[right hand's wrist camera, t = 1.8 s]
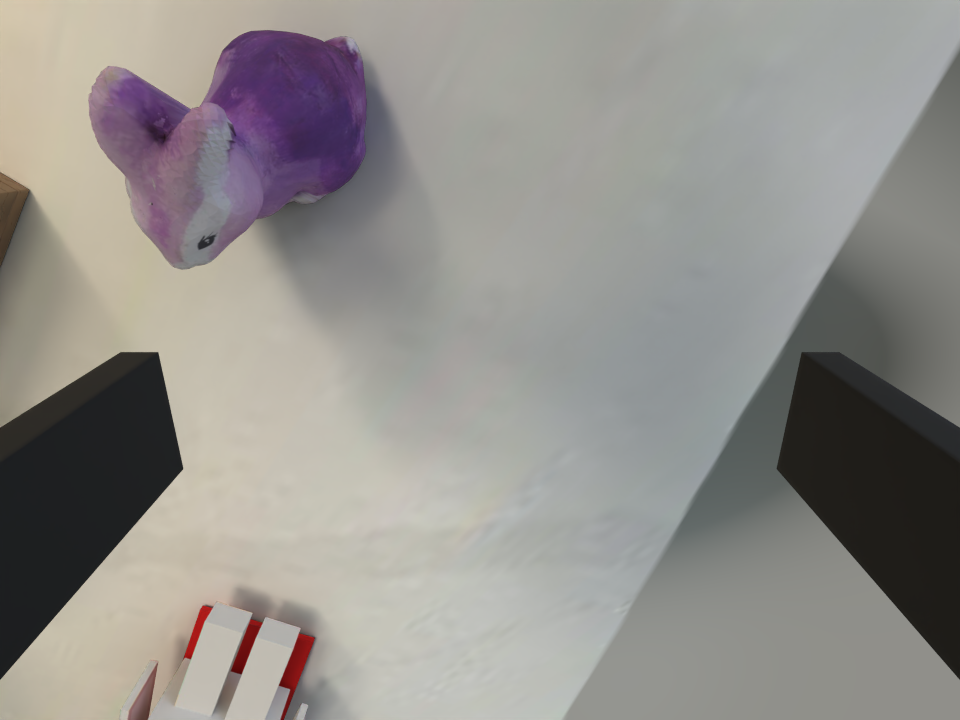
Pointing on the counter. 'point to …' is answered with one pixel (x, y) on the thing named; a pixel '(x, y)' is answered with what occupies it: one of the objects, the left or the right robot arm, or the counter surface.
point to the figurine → (234, 139)
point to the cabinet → (9, 210)
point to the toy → (228, 671)
